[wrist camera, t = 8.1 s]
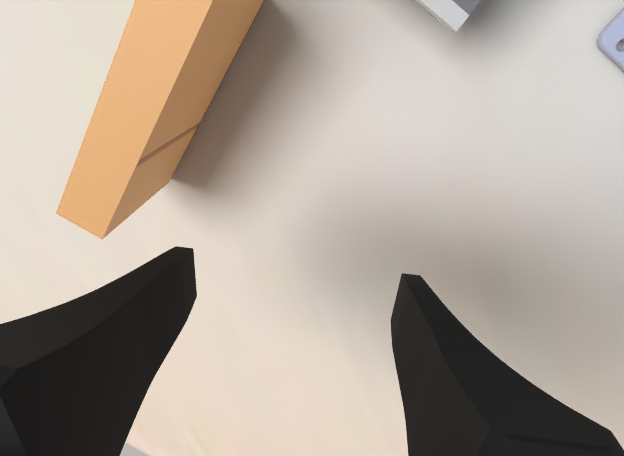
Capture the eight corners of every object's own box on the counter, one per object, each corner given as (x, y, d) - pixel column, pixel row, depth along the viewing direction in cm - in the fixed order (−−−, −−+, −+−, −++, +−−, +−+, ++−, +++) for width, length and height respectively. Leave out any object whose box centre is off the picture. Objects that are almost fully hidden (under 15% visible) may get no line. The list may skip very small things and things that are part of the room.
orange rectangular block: (168, 182, 22) (102, 239, 16) (136, 162, 21) (55, 213, 15) (267, -6, 17) (224, -23, 11) (227, -36, 16) (161, -72, 11)
